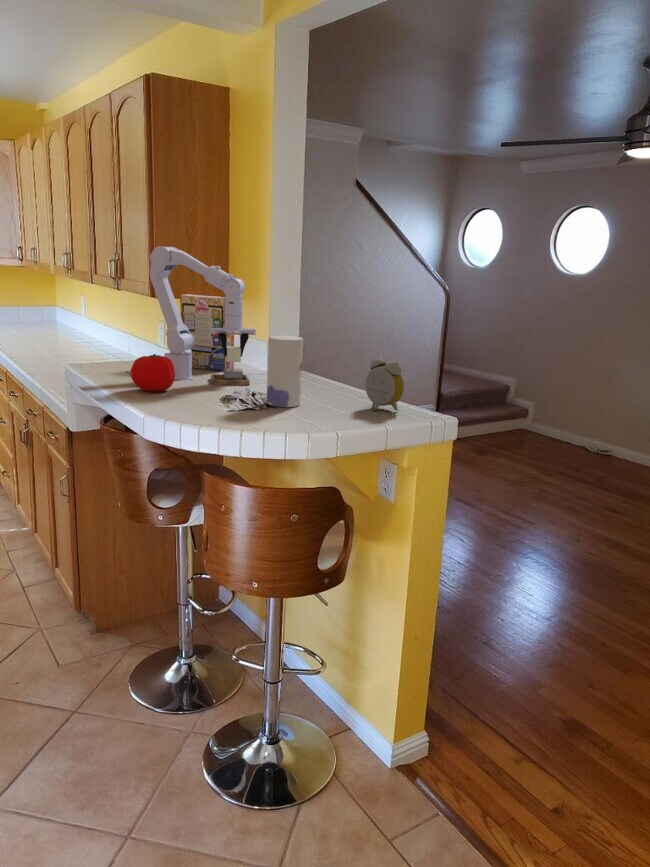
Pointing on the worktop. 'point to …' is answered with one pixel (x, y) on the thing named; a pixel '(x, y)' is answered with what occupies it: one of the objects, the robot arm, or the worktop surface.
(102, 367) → the worktop surface
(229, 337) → the cereal box
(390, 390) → the alarm clock
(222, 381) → the brown wooden tray
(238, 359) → the beige cube
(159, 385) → the tomato
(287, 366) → the container
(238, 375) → the grey block
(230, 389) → the worktop surface
